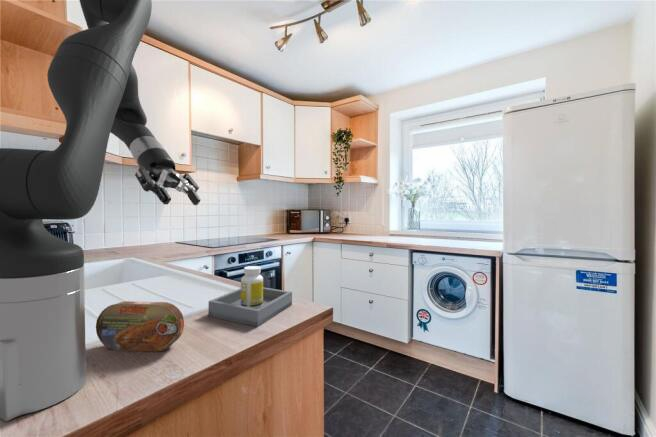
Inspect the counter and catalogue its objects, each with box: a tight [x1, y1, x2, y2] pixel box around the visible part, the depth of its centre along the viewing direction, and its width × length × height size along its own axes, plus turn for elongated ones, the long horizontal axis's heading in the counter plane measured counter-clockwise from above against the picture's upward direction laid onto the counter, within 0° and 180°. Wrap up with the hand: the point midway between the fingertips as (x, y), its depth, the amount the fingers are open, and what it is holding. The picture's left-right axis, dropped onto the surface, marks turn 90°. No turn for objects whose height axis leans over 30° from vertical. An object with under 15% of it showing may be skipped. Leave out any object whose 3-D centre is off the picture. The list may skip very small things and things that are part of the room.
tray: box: [207, 286, 293, 328], centre depth 71 cm, size 15×14×4 cm
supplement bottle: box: [240, 265, 264, 309], centre depth 71 cm, size 5×5×10 cm
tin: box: [95, 300, 185, 353], centre depth 52 cm, size 15×3×8 cm, turn 89°
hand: (183, 202), depth 70 cm, fingers open, 8 cm apart
